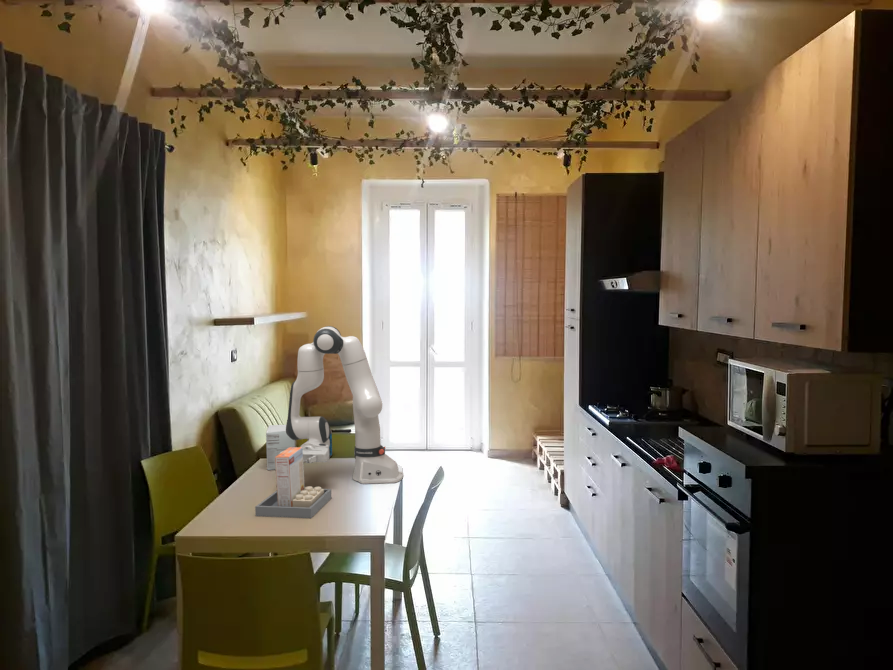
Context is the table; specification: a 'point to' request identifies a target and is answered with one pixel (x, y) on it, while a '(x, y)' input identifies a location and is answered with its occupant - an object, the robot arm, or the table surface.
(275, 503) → the tote
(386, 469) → the robot arm
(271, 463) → the supplement box
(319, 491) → the egg carton
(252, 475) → the table surface
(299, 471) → the cracker box
